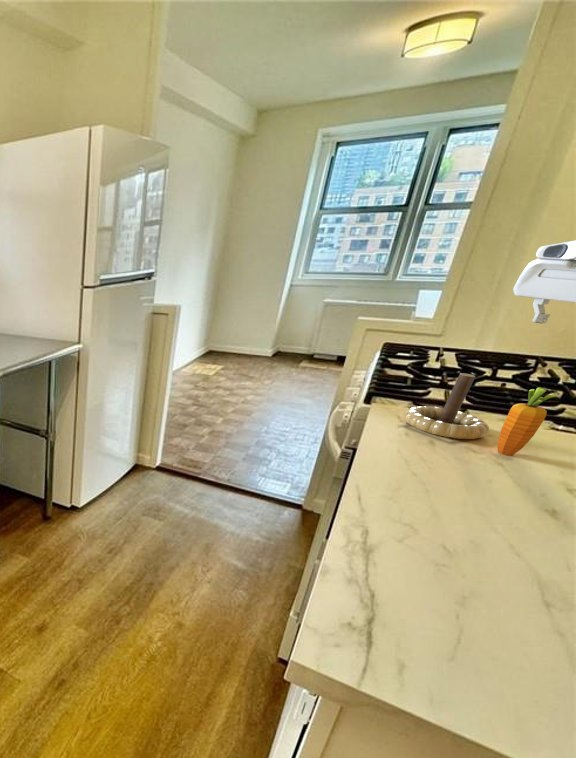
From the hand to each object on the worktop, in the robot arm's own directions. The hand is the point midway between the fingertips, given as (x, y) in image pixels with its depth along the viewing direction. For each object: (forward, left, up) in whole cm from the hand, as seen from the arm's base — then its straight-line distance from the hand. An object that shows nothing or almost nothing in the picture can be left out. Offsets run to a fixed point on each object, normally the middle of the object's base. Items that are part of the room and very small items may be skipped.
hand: (568, 327), depth 94 cm
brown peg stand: (+6, +12, -24) cm, 27 cm away
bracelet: (+6, +12, -21) cm, 25 cm away
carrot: (-6, +14, -24) cm, 28 cm away
